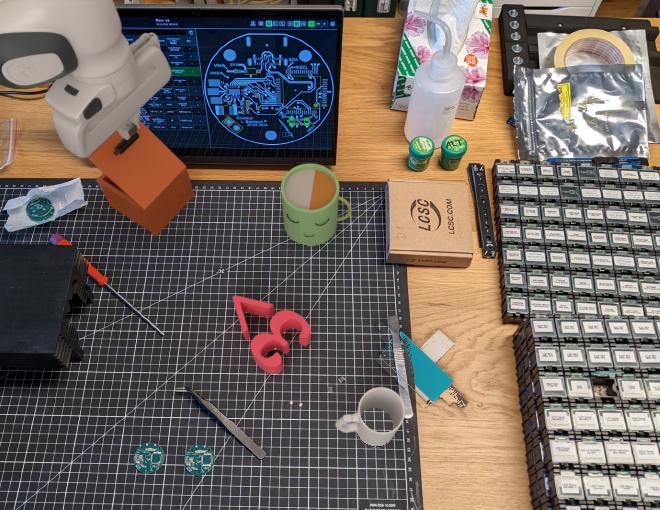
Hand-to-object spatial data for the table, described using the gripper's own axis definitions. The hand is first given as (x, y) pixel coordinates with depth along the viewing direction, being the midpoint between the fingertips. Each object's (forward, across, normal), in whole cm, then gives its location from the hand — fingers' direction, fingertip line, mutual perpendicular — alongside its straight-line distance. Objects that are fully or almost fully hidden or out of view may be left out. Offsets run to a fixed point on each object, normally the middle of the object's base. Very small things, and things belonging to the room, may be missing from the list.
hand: (130, 132), depth 99 cm
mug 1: (+22, -13, +27) cm, 37 cm away
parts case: (+22, 0, -2) cm, 22 cm away
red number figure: (+22, +10, +32) cm, 40 cm away
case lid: (+9, 0, -2) cm, 10 cm away
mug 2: (+22, +14, +55) cm, 61 cm away
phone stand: (+22, -1, +57) cm, 61 cm away
